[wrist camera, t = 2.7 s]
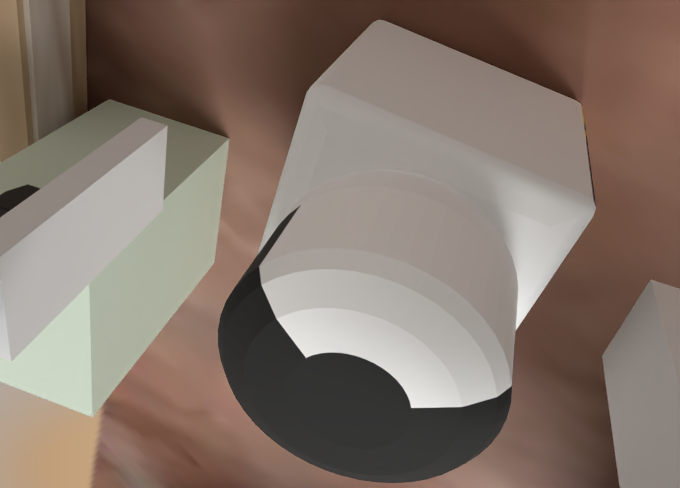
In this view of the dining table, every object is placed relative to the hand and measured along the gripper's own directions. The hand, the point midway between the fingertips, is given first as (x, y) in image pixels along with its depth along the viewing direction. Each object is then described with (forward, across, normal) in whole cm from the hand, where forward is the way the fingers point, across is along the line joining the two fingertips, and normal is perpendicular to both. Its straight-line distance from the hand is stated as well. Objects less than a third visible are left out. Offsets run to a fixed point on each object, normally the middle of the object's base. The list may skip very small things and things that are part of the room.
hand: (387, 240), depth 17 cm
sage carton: (+6, -9, -5) cm, 12 cm away
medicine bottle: (+6, +1, 0) cm, 6 cm away
